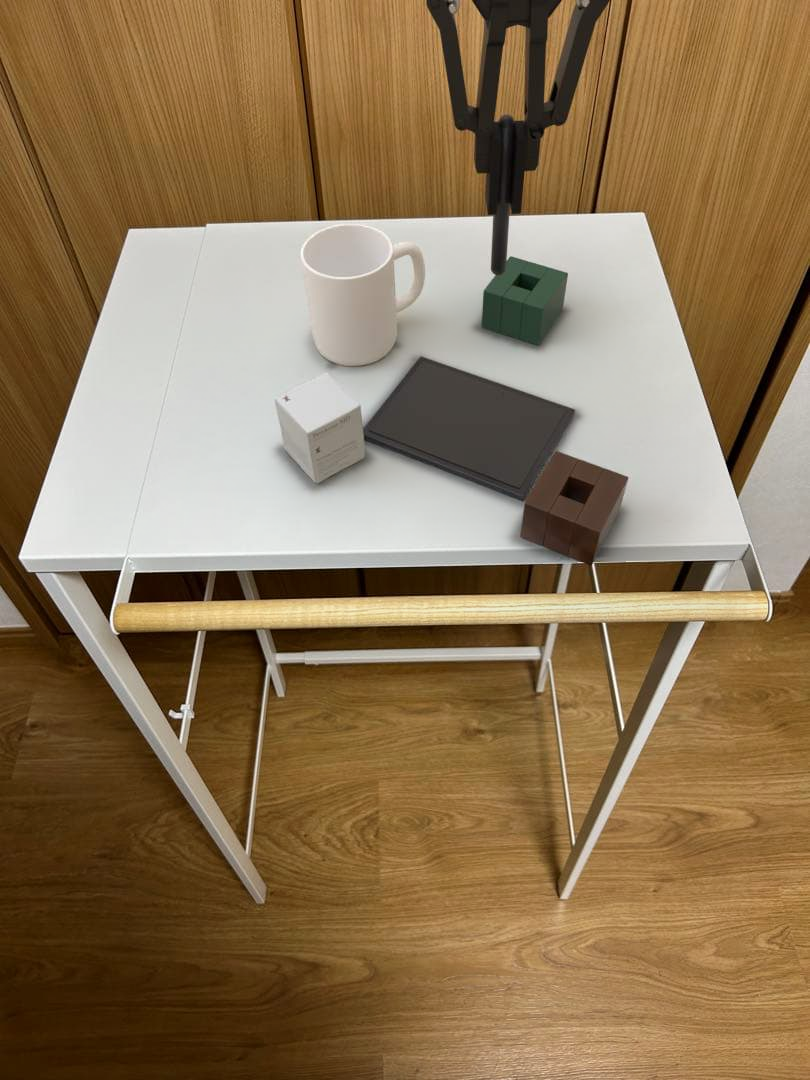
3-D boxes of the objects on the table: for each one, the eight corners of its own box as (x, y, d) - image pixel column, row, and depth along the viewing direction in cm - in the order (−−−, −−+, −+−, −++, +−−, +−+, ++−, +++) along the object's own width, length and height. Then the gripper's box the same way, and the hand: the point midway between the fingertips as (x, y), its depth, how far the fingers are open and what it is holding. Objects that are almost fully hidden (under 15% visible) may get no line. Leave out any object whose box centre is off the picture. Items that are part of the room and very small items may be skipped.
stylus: (508, 272, 77) (518, 113, 66) (501, 279, 76) (511, 119, 65) (494, 269, 77) (502, 110, 67) (487, 276, 76) (495, 116, 66)
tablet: (574, 414, 86) (575, 408, 85) (522, 501, 79) (523, 495, 78) (420, 360, 91) (420, 355, 90) (360, 437, 85) (359, 432, 84)
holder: (619, 511, 78) (629, 476, 74) (591, 566, 74) (600, 532, 70) (549, 485, 80) (555, 450, 76) (519, 537, 76) (524, 502, 72)
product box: (315, 486, 81) (306, 434, 75) (283, 449, 84) (271, 396, 78) (367, 457, 83) (362, 404, 77) (334, 423, 86) (326, 369, 80)
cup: (300, 330, 95) (285, 240, 85) (405, 291, 98) (402, 201, 89) (336, 379, 90) (324, 290, 80) (445, 336, 93) (446, 246, 84)
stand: (562, 309, 96) (568, 272, 91) (538, 346, 92) (543, 309, 88) (507, 292, 98) (510, 255, 94) (481, 327, 94) (483, 290, 90)
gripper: (630, -165, 54) (580, 177, 73) (410, -154, 54) (417, 184, 73) (654, -127, 50) (594, 227, 69) (413, -115, 50) (420, 234, 69)
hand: (502, 204), depth 71 cm, fingers closed on stylus
